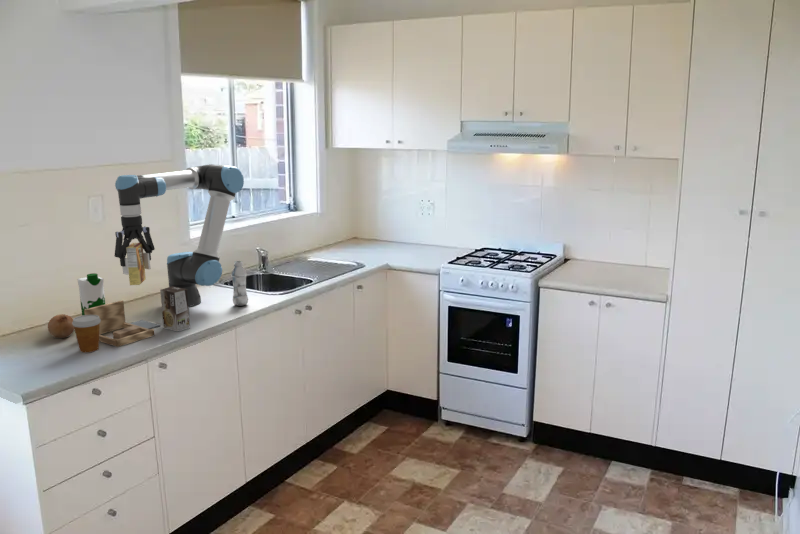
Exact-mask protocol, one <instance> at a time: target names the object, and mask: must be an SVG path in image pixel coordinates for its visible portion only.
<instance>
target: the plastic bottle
mask: <svg viewBox="0 0 800 534" xmlns="http://www.w3.org/2000/svg"><path fill="white" fill-rule="evenodd" d="M231 280H232V286H233V287H232V288H233V295H232V303H233V304H234V305H235V306H237V307H242V306H246V305H247V304H248V302H249V297H248V293H247V292H248V291H247V270H246V269H245V268H244V263H243V261H242V260H241V261H240V260H236V261H234V262H233V268H232V270H231Z"/></svg>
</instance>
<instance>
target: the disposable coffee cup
mask: <svg viewBox="0 0 800 534" xmlns="http://www.w3.org/2000/svg"><path fill="white" fill-rule="evenodd" d="M72 319H73V322H72V325H73V326H74V332H75V337H76V339H77V344H78V349H79V351H80V352H81V353H94V352H95V351H98V350H99V348H100V341H99V329H100V321H101V319H100V318H99V316H98V315H83V316H82V315H79V316H76V317H74V318H72Z"/></svg>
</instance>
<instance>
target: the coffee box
mask: <svg viewBox="0 0 800 534" xmlns="http://www.w3.org/2000/svg"><path fill="white" fill-rule="evenodd" d="M160 302H161V313H162V325H163V329H166V330H171V331H174V332H181V331H183V330H187V329H190V327H191V325H190V312H189V310H190V309H189V307H188V295H187V289H184V288H179V287H174V286H172V287H169V286H168V287H166V288H161V289H160Z"/></svg>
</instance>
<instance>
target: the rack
mask: <svg viewBox="0 0 800 534" xmlns="http://www.w3.org/2000/svg"><path fill="white" fill-rule="evenodd" d="M124 301H125V300H122V299H120V300H117V301H113V302H109V303H105V305H101V306H97V307H93V308H89V309H85V310H84V313H85V315H98V316H99V318H100V319H101V321H100V329H99V342H101V343H104V344H108V345H111V346H114V347H117V348H119V347H122V346H125V345H128V344H131V343H135V342H139V341H141V340H144V339H147V338H150V337H154V336H155V328H153V329H147V328H144V327H140V326H137V325H133V324H130V323H131V322H130V323H128V322H126V315H125V304H124V303H125V302H124ZM131 326H135V327H139V328H140V333H136V334H133V335H130V336H126V337H123V338H120V339H116V340H115V339H113V337H109V336H106V335H103V334H106V333H110V332H115V331H118V330H121V329H125V328H128V327H131Z"/></svg>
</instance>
